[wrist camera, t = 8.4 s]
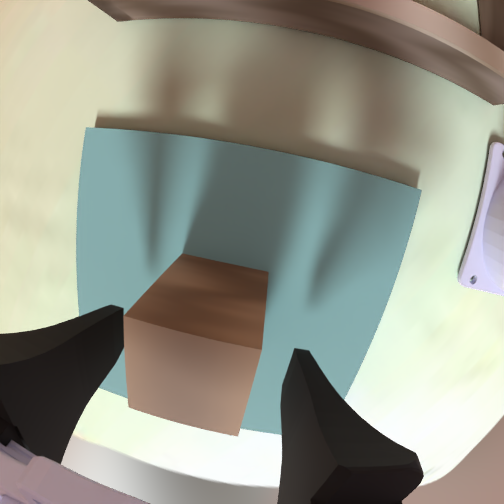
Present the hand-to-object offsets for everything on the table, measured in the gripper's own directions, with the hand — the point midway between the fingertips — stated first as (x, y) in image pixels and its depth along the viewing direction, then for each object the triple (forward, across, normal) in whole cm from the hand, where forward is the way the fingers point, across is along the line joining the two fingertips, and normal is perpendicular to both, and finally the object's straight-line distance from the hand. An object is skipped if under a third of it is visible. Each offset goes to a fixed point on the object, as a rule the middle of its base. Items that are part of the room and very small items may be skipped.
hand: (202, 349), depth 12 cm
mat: (+3, 0, 0) cm, 3 cm away
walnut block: (+3, 0, -1) cm, 3 cm away
